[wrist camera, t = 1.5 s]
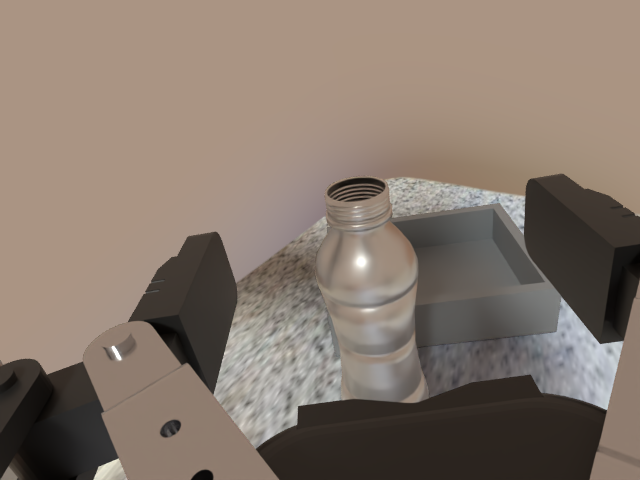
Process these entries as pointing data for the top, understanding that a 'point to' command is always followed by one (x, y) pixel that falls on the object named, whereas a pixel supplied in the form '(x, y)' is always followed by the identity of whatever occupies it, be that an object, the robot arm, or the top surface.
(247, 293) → the top surface
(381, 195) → the silver bottle
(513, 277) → the bin
